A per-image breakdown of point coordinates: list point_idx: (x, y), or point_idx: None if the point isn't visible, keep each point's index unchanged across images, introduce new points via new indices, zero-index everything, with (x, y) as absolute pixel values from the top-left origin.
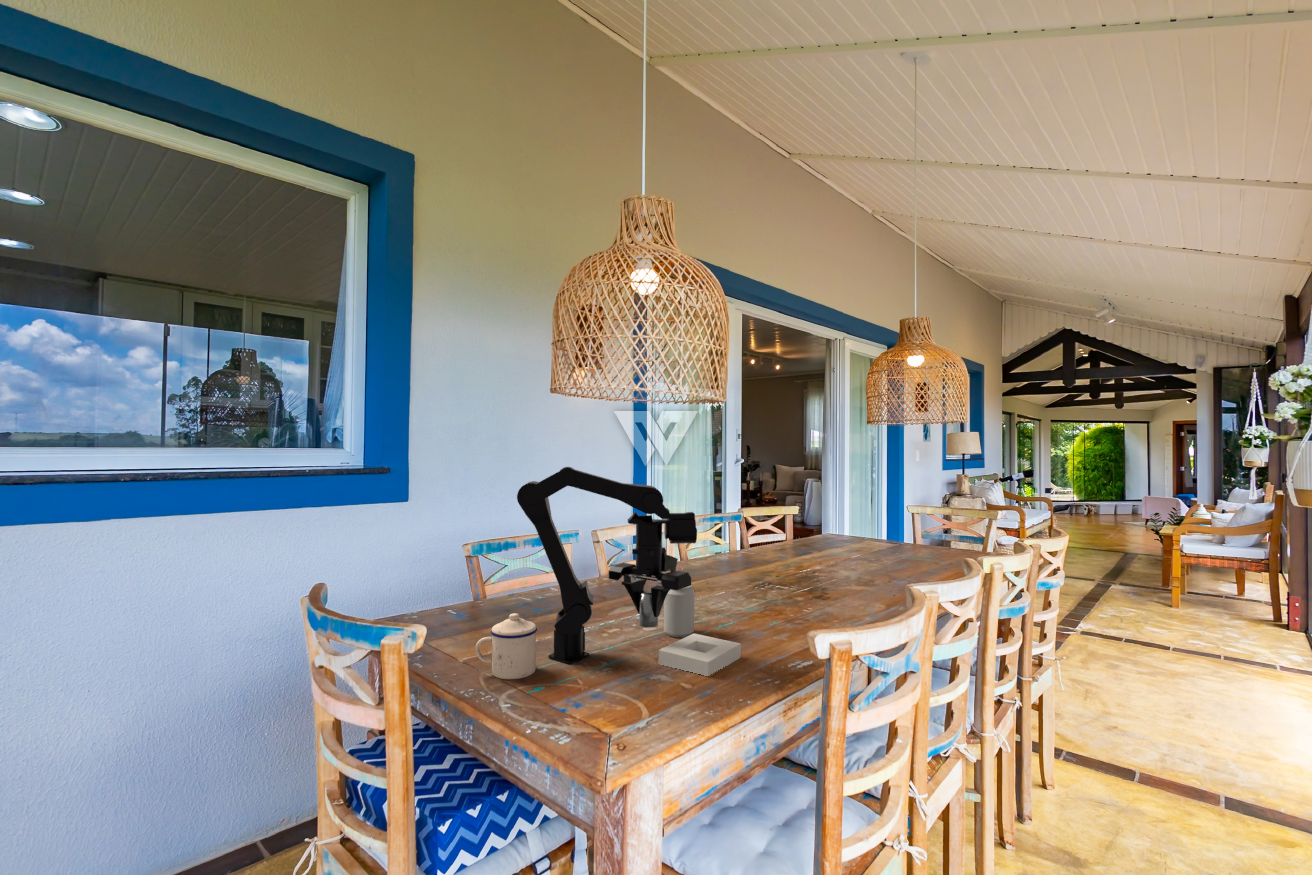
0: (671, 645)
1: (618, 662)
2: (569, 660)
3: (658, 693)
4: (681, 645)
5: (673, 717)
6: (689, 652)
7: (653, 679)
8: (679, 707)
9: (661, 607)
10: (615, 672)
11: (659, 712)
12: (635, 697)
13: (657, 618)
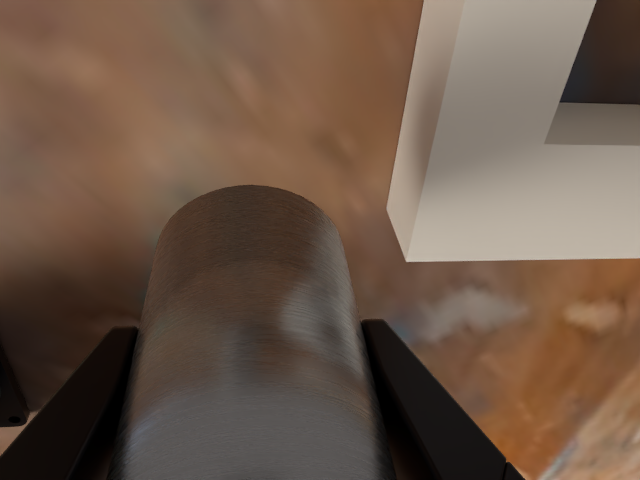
0: (451, 149)
1: None
2: (8, 415)
3: (510, 401)
4: (525, 109)
5: (597, 459)
6: (612, 193)
7: (446, 340)
8: (602, 424)
9: (446, 400)
10: None
11: (553, 461)
12: None
13: (351, 284)
